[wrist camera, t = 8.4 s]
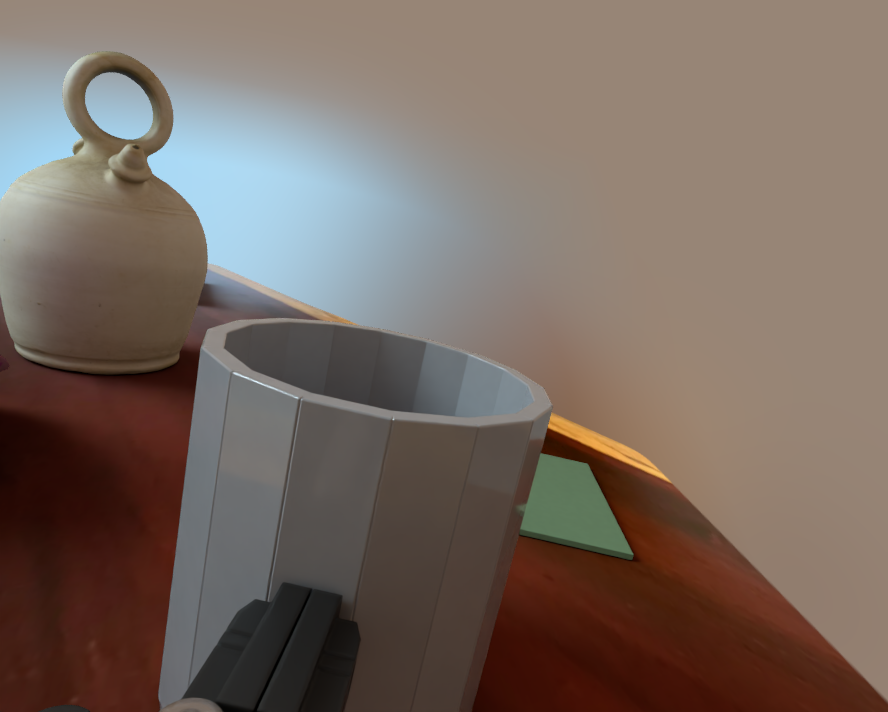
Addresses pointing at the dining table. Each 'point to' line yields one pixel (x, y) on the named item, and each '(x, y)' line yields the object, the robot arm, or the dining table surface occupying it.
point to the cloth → (571, 509)
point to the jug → (101, 244)
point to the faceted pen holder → (355, 499)
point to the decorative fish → (3, 363)
